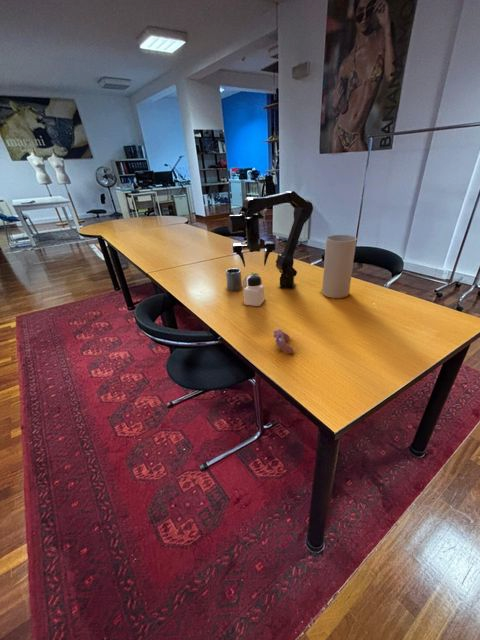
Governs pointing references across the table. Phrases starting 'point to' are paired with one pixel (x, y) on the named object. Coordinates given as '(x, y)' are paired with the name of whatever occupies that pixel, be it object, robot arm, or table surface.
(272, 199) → the robot arm
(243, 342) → the table surface
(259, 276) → the decorative fruit
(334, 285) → the cylinder vase
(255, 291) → the medicine bottle
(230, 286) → the glazed cup
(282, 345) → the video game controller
